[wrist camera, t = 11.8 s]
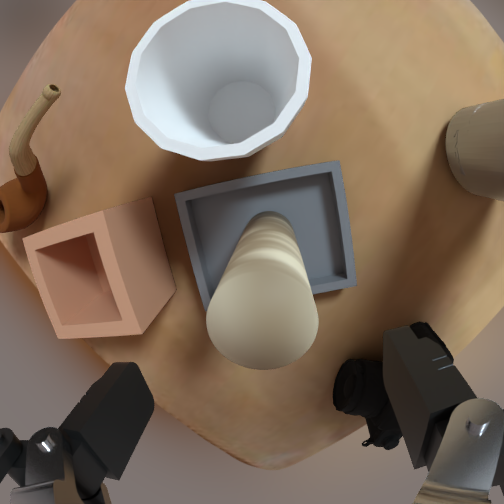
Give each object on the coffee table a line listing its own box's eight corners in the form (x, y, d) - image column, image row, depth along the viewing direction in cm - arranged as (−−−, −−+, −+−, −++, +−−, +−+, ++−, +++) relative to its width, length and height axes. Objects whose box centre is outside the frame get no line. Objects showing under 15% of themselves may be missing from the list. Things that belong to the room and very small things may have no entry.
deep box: (151, 196, 28) (102, 210, 19) (176, 289, 30) (142, 333, 21) (77, 219, 29) (22, 238, 20) (102, 300, 31) (58, 338, 23)
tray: (333, 161, 25) (339, 160, 23) (350, 276, 28) (356, 285, 26) (182, 191, 27) (174, 194, 25) (210, 300, 30) (205, 311, 28)
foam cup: (257, 183, 27) (240, 197, 14) (172, 132, 26) (97, 111, 13) (314, 98, 24) (345, 44, 12) (228, 50, 23) (193, -24, 11)
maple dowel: (289, 206, 26) (310, 262, 11) (297, 254, 27) (323, 361, 12) (239, 216, 27) (193, 283, 11) (250, 263, 28) (221, 374, 12)
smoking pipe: (48, 225, 30) (26, 195, 30) (102, 88, 21) (72, 61, 20) (4, 250, 24) (-17, 215, 24) (37, 93, 15) (12, 63, 14)
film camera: (369, 304, 29) (398, 352, 20) (438, 322, 29) (475, 366, 20) (315, 408, 33) (321, 463, 25) (379, 416, 33) (396, 466, 25)
